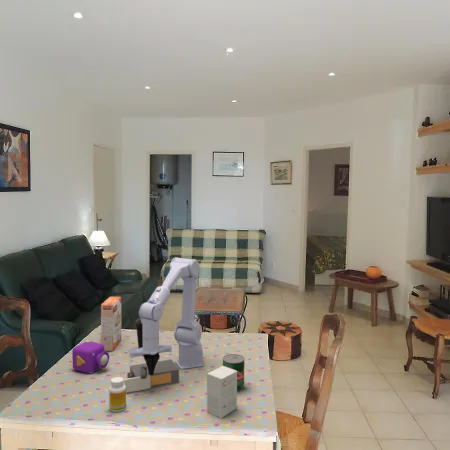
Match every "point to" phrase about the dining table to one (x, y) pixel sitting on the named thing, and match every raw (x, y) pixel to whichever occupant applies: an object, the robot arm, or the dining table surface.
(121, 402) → the supplement bottle
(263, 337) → the dining table surface
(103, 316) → the cracker box
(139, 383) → the side door
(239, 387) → the canned tomato
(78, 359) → the toy camera
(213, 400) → the small box
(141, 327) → the drinking cup
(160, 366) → the camera housing
